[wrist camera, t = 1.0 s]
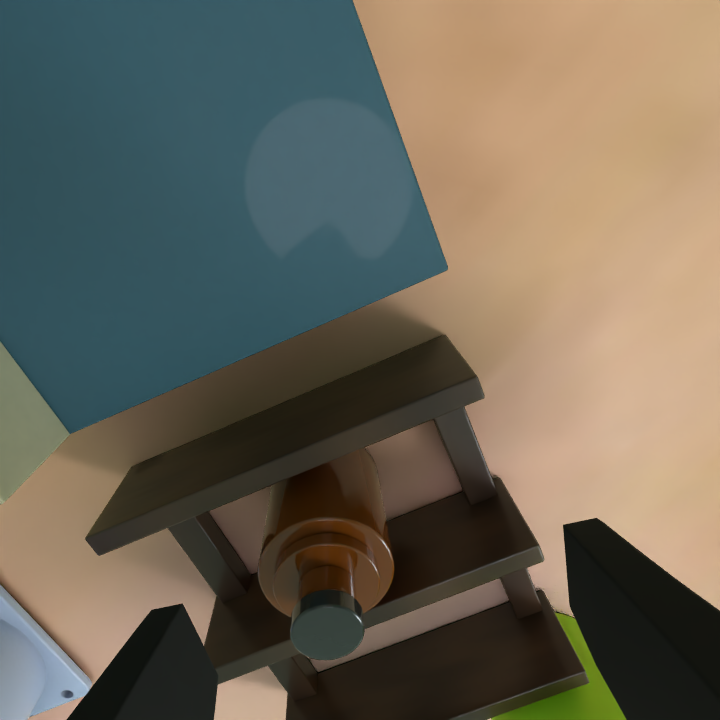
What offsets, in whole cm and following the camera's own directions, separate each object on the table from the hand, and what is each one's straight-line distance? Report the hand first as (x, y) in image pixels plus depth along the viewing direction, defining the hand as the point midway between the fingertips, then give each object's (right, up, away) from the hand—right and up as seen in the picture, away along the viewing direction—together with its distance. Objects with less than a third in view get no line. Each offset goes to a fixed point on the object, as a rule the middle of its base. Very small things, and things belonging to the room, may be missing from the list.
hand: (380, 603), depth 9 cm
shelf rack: (0, -3, +12) cm, 12 cm away
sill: (-7, +10, +6) cm, 14 cm away
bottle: (-2, 0, +11) cm, 11 cm away
